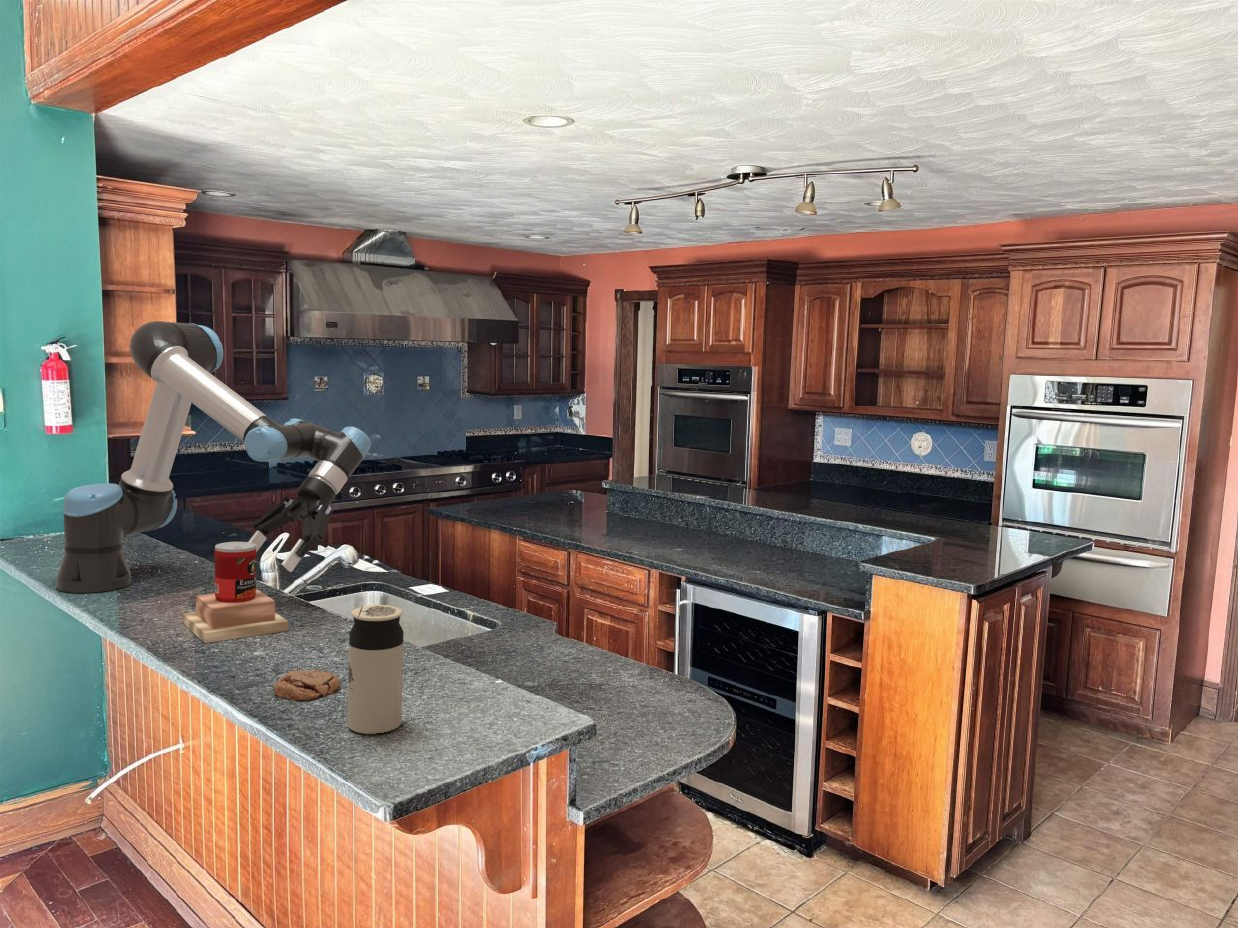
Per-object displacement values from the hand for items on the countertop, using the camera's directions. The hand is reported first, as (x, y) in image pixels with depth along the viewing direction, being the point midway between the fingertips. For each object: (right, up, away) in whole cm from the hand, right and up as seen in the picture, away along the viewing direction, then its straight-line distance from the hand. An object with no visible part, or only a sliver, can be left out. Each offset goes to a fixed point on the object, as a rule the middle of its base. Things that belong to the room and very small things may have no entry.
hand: (264, 563), depth 187 cm
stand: (-4, -13, -4) cm, 14 cm away
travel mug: (+37, -20, -50) cm, 65 cm away
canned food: (-4, -7, -5) cm, 9 cm away
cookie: (+22, -18, -37) cm, 46 cm away
